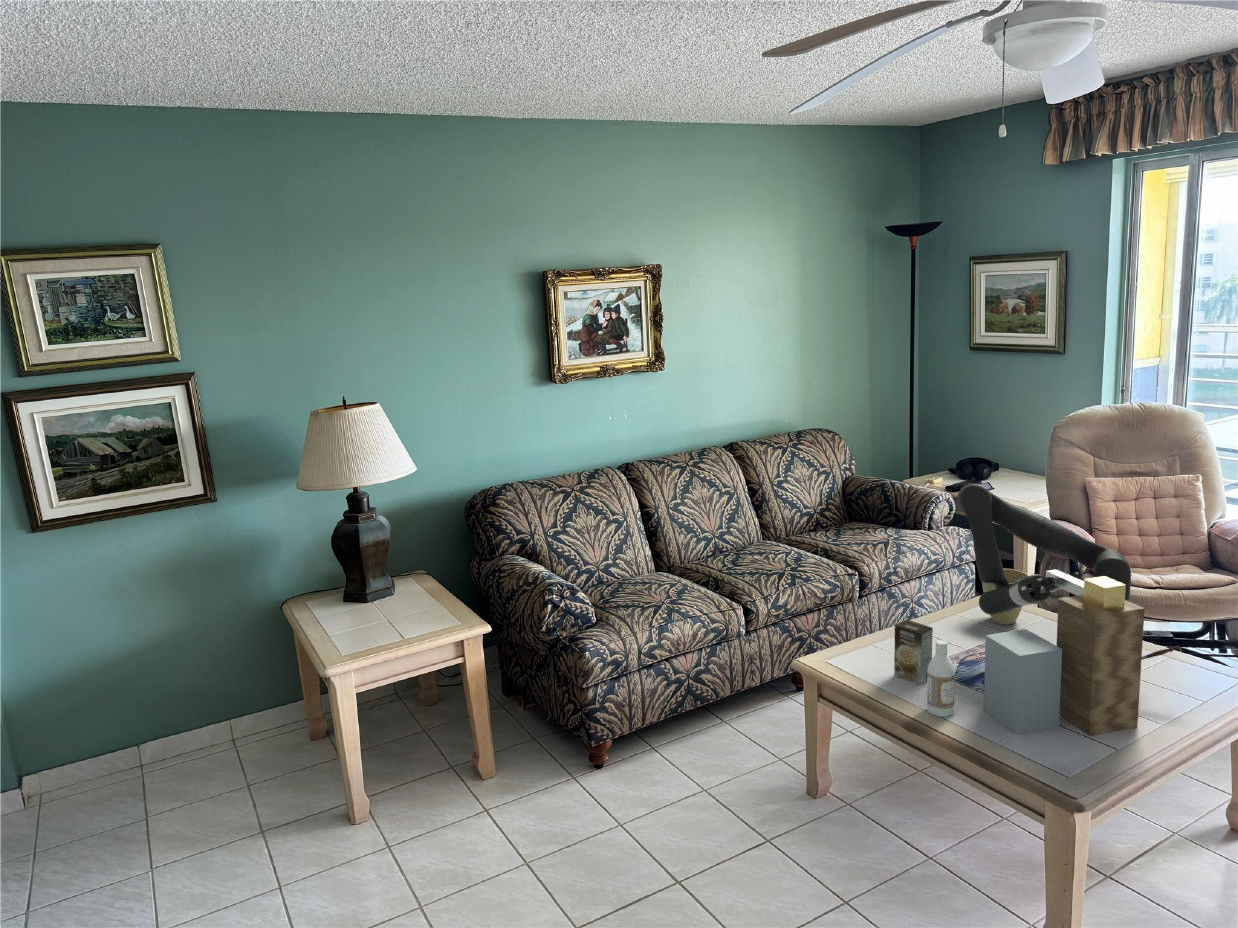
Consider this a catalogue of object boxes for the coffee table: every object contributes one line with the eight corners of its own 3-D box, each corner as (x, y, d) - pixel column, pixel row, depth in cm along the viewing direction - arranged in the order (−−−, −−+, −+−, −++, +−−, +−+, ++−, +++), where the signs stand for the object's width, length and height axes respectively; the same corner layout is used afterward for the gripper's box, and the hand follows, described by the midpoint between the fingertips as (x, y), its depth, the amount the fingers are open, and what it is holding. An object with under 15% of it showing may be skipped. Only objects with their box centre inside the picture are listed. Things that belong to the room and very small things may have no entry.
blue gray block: (1023, 703, 239) (1025, 628, 234) (1058, 727, 225) (1062, 648, 221) (983, 709, 236) (985, 635, 232) (1017, 734, 223) (1019, 655, 219)
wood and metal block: (1060, 579, 240) (1061, 558, 239) (1124, 607, 218) (1125, 584, 216) (1040, 581, 239) (1041, 560, 237) (1103, 610, 216) (1104, 587, 215)
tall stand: (1099, 704, 235) (1105, 591, 229) (1137, 727, 223) (1144, 608, 216) (1053, 712, 233) (1058, 598, 226) (1089, 735, 220) (1095, 615, 214)
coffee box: (892, 675, 260) (893, 624, 256) (905, 669, 263) (905, 618, 260) (920, 685, 252) (921, 633, 249) (933, 678, 256) (933, 626, 253)
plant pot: (973, 623, 294) (974, 578, 291) (988, 609, 305) (989, 565, 302) (1020, 632, 284) (1022, 585, 281) (1034, 617, 295) (1035, 572, 292)
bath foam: (936, 719, 233) (937, 648, 229) (922, 707, 240) (922, 639, 236) (959, 715, 234) (960, 645, 230) (944, 703, 241) (945, 635, 237)
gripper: (1003, 580, 248) (1037, 567, 233) (1047, 574, 251) (1084, 561, 236) (1010, 606, 246) (1046, 595, 230) (1055, 600, 249) (1093, 588, 233)
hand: (1065, 578), depth 233 cm, fingers open, 7 cm apart
